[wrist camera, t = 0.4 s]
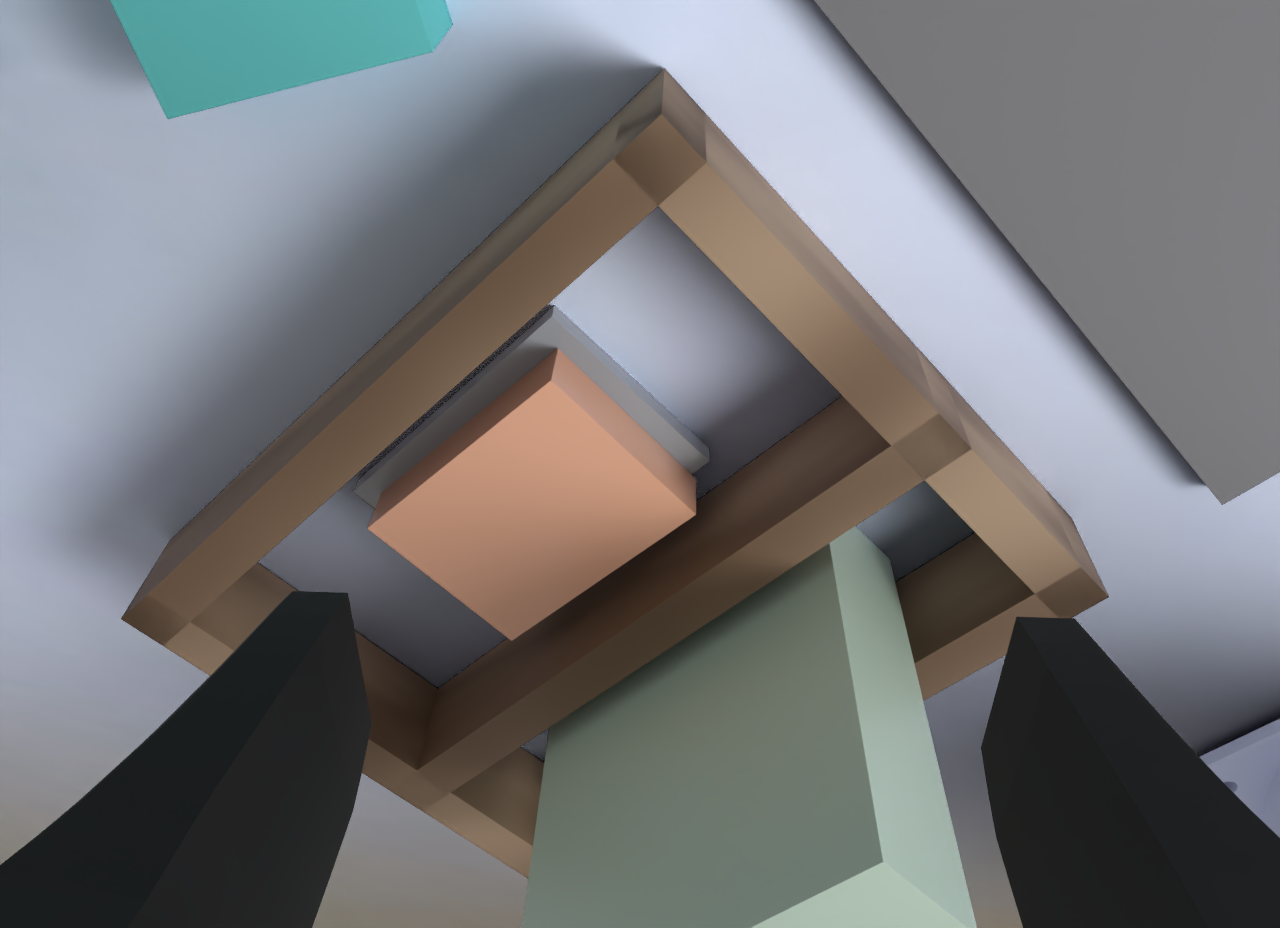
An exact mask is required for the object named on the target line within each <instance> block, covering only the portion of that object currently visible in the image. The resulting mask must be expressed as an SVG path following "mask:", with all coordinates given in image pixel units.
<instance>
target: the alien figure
mask: <svg viewBox="0 0 1280 928" xmlns="http://www.w3.org/2000/svg"><path fill="white" fill-rule="evenodd" d="M110 2H111V4H112V6H113V8H114V10H115V12H116V14H117V16H118V18H119V20H120V22H121V24H122V26H123V28H124V30H125V33H126V35H127V37H128V39H129V41H130V43H131V45H132V47H133V49H134V51H135V53H136V55H137V57H138V59H139V61H140V63H141V66H142V68H143V70H144V72H145V74H146V76H147V78H148V80H149V82H150V84H151V86H152V88H153V90H154V92H155V94H156V97H157V99H158V101H159V103H160V105H161V107H162V109H163V111H164V113H165V115H166V117H167V119H170V118H174V117H178V116H182V115H186V114H190V113H194V112H198V111H202V110H206V109H210V108H214V107H218V106H222V105H225V104H229V103H233V102H237V101H241V100H245V99H249V98H253V97H257V96H261V95H265V94H269V93H273V92H277V91H281V90H284V89H288V88H292V87H296V86H300V85H304V84H308V83H312V82H316V81H320V80H324V79H328V78H332V77H336V76H340V75H344V74H347V73H351V72H355V71H359V70H363V69H367V68H371V67H375V66H379V65H383V64H387V63H391V62H395V61H399V60H403V59H406V58H410V57H414V56H418V55H422V54H426V53H430V52H433V51H434V49H435V48H436V47H437V45H438V44H439V43H440V41H441V40H442V38H443V37H444V36H445V34H446V33H447V32H448V30H449V29H450V28H451V26H452V25H453V23H452V20H451V17H450V14H449V11H448V8H447V5H446V2H445V0H110Z"/></svg>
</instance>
